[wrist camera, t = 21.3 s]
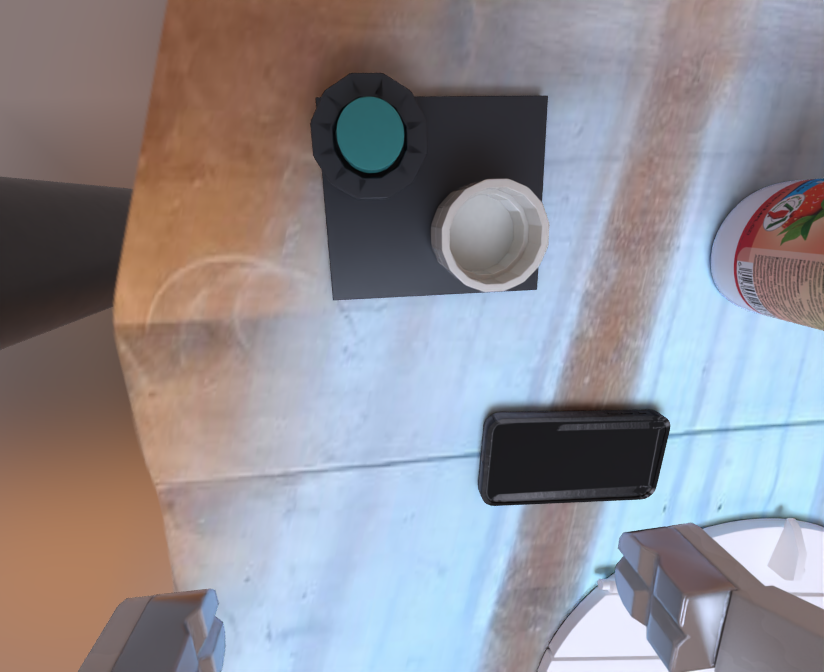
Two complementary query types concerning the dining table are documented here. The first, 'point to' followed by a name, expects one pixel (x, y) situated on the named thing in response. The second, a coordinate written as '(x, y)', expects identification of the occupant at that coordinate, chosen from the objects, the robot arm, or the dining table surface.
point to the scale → (417, 181)
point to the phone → (571, 456)
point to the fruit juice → (775, 253)
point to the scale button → (370, 134)
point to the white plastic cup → (490, 234)
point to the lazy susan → (626, 637)
